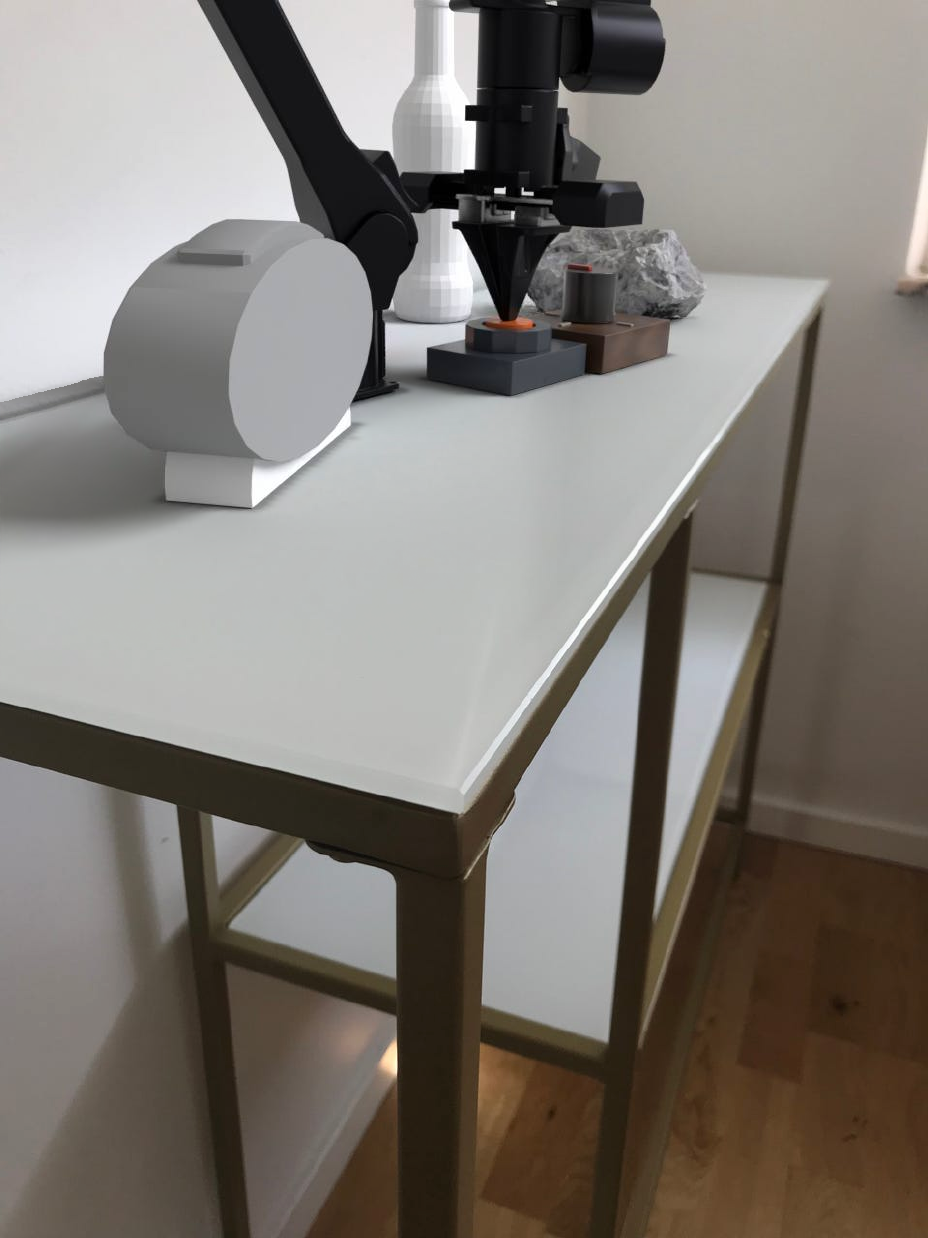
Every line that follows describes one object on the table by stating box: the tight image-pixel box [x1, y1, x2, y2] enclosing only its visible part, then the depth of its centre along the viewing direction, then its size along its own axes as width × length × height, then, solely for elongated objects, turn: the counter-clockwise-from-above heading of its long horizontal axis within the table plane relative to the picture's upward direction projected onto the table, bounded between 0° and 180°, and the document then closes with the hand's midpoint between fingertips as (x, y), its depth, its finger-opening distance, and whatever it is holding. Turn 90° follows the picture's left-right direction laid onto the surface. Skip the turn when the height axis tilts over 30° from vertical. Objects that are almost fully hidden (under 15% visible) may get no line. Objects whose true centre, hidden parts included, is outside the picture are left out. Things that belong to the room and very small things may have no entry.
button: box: [485, 316, 533, 329], centre depth 79 cm, size 4×4×2 cm
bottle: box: [391, 0, 476, 324], centre depth 98 cm, size 8×8×30 cm
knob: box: [562, 264, 618, 324], centre depth 86 cm, size 4×4×4 cm
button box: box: [426, 317, 586, 396], centre depth 79 cm, size 10×8×4 cm
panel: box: [520, 309, 671, 375], centre depth 88 cm, size 11×10×3 cm
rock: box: [526, 227, 708, 319], centre depth 106 cm, size 18×15×10 cm
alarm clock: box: [102, 218, 373, 509], centre depth 56 cm, size 23×6×13 cm, turn 169°
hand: (508, 320), depth 78 cm, fingers closed, pressing on button
